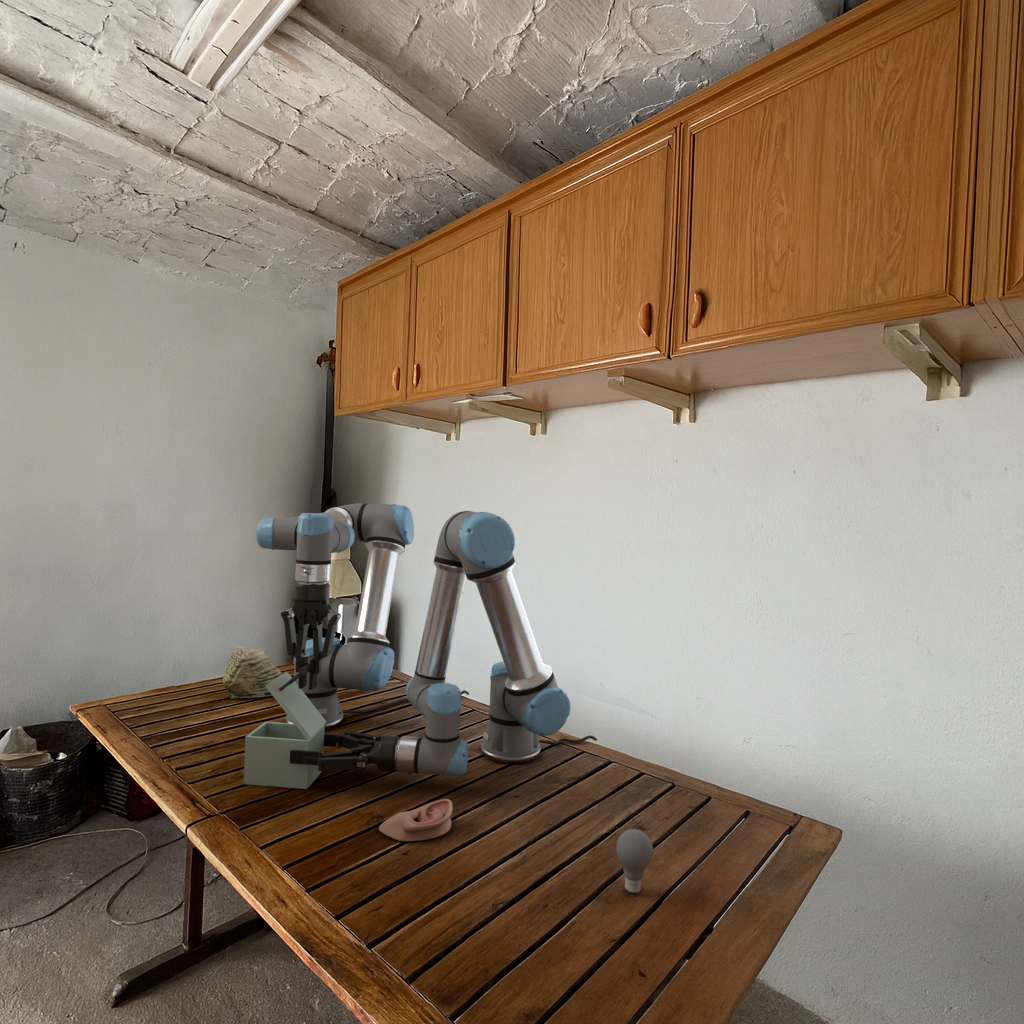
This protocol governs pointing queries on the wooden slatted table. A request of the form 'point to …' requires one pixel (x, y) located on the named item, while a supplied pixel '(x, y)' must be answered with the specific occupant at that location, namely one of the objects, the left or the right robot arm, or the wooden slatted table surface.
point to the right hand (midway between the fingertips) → (300, 747)
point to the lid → (296, 702)
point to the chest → (280, 756)
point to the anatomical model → (420, 822)
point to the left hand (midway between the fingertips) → (307, 687)
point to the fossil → (249, 673)
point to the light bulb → (634, 857)
